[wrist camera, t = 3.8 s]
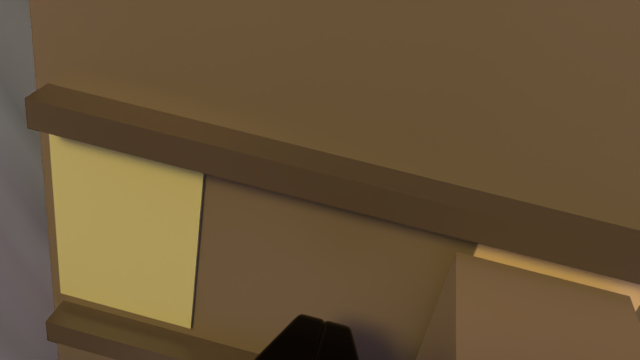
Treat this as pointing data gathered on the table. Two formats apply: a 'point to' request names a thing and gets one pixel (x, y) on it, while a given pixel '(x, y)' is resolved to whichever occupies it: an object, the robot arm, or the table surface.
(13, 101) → the table surface
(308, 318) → the robot arm
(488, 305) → the toggle
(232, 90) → the panel
